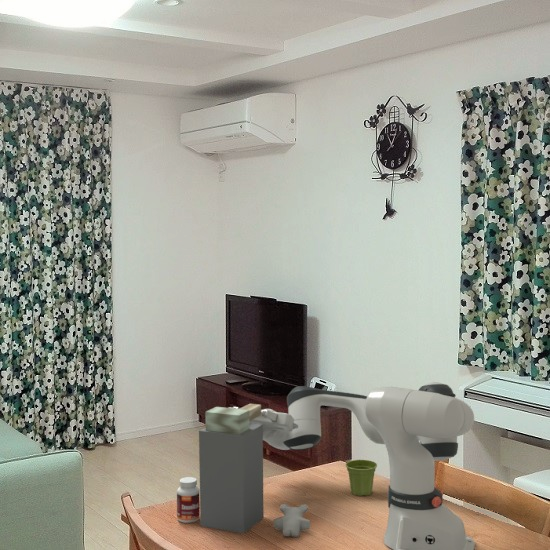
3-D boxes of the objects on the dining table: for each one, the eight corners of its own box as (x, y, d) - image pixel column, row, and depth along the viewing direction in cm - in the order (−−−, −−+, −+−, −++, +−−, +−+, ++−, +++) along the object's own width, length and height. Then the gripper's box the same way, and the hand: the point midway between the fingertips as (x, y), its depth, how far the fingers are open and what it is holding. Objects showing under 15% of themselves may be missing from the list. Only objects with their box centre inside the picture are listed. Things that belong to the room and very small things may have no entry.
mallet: (271, 416, 225) (271, 398, 225) (239, 434, 207) (239, 415, 207) (239, 412, 230) (239, 395, 229) (205, 430, 211) (205, 411, 211)
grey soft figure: (272, 524, 204) (277, 496, 219) (272, 542, 205) (277, 514, 220) (309, 525, 203) (311, 497, 218) (309, 543, 204) (311, 514, 219)
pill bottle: (180, 525, 214) (180, 485, 213) (174, 517, 220) (173, 478, 219) (202, 521, 217) (202, 481, 216) (195, 513, 222) (195, 474, 221)
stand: (263, 517, 219) (262, 424, 217) (243, 533, 208) (242, 435, 206) (221, 510, 224) (220, 419, 222) (200, 526, 213) (198, 430, 211)
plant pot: (339, 494, 236) (339, 465, 235) (355, 485, 244) (355, 457, 243) (367, 500, 231) (367, 471, 230) (382, 491, 238) (382, 462, 238)
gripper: (298, 439, 230) (281, 425, 218) (235, 431, 238) (215, 418, 227) (302, 417, 232) (285, 403, 221) (239, 411, 241) (220, 397, 229)
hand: (249, 411), depth 224 cm, fingers open, 8 cm apart
